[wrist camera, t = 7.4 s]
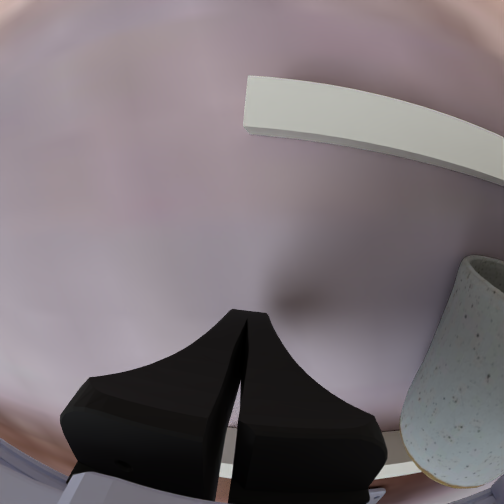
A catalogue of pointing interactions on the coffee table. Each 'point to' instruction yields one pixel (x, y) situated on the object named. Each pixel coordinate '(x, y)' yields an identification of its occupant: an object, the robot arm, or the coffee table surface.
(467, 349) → the ceramic mug
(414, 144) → the track rails
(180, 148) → the coffee table surface
